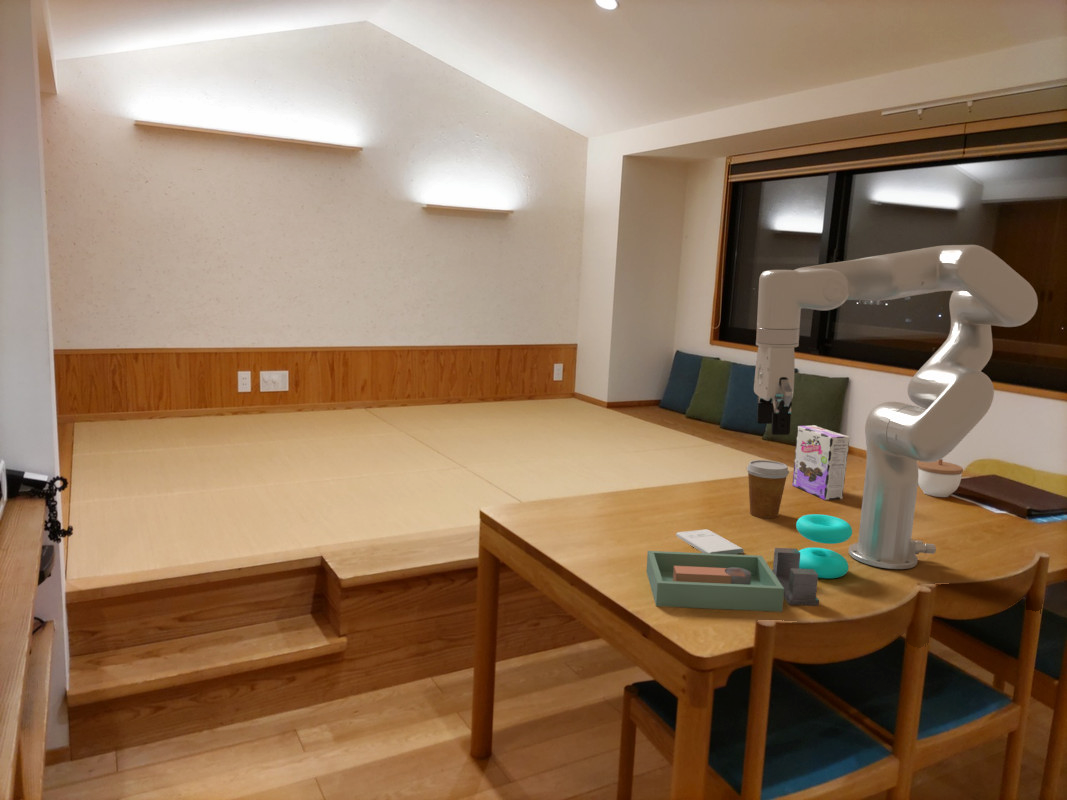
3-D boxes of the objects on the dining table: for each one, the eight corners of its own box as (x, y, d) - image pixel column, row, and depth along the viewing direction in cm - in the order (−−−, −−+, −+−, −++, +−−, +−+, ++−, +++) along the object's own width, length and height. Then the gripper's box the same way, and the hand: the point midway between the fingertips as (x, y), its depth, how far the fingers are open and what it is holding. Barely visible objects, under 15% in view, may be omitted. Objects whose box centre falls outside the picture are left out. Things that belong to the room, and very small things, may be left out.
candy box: (791, 485, 209) (796, 425, 206) (809, 484, 210) (815, 424, 207) (824, 500, 196) (830, 436, 193) (844, 499, 197) (850, 435, 195)
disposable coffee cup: (780, 509, 187) (784, 460, 185) (789, 522, 178) (793, 470, 176) (739, 506, 188) (743, 458, 186) (746, 519, 179) (750, 468, 177)
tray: (759, 576, 145) (761, 555, 144) (782, 611, 130) (784, 588, 130) (646, 571, 146) (647, 550, 145) (656, 606, 131) (657, 582, 130)
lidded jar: (917, 497, 201) (921, 461, 200) (910, 486, 211) (914, 452, 210) (963, 502, 198) (968, 466, 197) (954, 490, 208) (958, 456, 207)
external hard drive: (708, 560, 154) (675, 539, 166) (743, 555, 157) (708, 535, 169) (709, 552, 154) (675, 531, 165) (743, 548, 157) (708, 528, 168)
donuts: (862, 521, 148) (838, 533, 141) (856, 571, 149) (833, 585, 142) (811, 509, 155) (787, 519, 148) (807, 557, 156) (782, 569, 149)
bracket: (769, 575, 146) (771, 547, 145) (796, 576, 146) (798, 548, 145) (789, 604, 133) (791, 574, 132) (818, 606, 133) (821, 575, 132)
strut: (675, 590, 136) (676, 574, 136) (672, 580, 141) (673, 564, 140) (752, 594, 136) (754, 578, 135) (746, 583, 140) (748, 568, 140)
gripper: (745, 333, 152) (741, 419, 155) (770, 342, 135) (765, 439, 138) (783, 333, 152) (779, 419, 155) (813, 342, 135) (807, 439, 138)
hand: (772, 428), depth 147 cm, fingers open, 9 cm apart
